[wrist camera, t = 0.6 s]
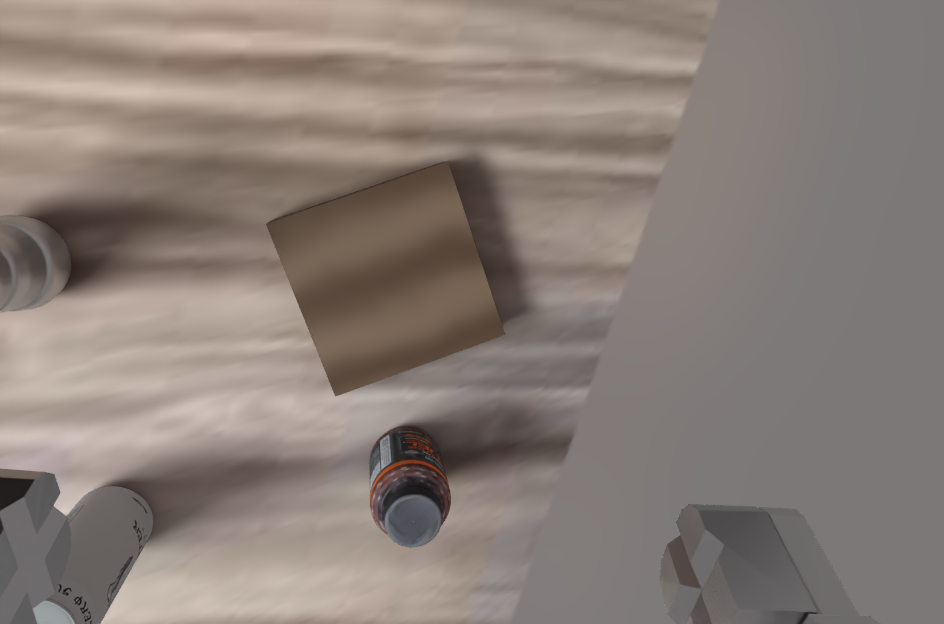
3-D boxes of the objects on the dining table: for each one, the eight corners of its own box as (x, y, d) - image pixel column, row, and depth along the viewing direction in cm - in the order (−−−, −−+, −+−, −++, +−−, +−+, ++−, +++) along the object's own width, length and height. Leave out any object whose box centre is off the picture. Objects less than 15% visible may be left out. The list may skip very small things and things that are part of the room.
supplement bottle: (452, 441, 60) (472, 502, 49) (420, 500, 61) (433, 574, 50) (388, 412, 59) (395, 469, 48) (356, 474, 59) (355, 543, 48)
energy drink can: (139, 560, 58) (65, 691, 43) (64, 534, 57) (-37, 661, 42) (168, 496, 57) (103, 609, 43) (94, 469, 56) (1, 576, 41)
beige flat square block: (498, 326, 59) (505, 334, 56) (336, 384, 58) (335, 396, 55) (443, 161, 55) (448, 161, 52) (271, 220, 54) (266, 223, 51)
